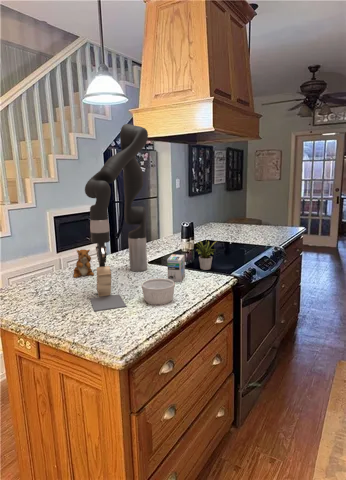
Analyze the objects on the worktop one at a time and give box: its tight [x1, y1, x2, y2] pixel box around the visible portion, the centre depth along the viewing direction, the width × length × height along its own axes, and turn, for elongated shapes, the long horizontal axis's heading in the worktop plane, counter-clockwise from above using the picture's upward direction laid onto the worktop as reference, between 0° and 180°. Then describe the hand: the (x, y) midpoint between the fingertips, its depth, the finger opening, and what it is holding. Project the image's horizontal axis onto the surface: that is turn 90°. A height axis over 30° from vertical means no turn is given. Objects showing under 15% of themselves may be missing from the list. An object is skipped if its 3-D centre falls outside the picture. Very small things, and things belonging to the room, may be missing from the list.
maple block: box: [96, 265, 112, 297], centre depth 140 cm, size 5×5×12 cm
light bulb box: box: [166, 254, 186, 283], centre depth 163 cm, size 11×7×11 cm, turn 168°
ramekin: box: [141, 277, 176, 305], centre depth 136 cm, size 13×13×7 cm
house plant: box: [192, 239, 218, 271], centre depth 179 cm, size 14×14×16 cm
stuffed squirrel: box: [73, 249, 95, 279], centre depth 173 cm, size 10×14×13 cm
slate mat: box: [89, 293, 127, 312], centre depth 134 cm, size 14×12×1 cm
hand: (102, 271), depth 141 cm, fingers closed
